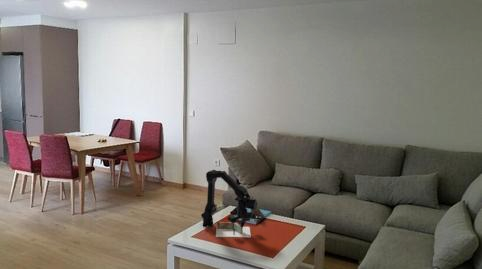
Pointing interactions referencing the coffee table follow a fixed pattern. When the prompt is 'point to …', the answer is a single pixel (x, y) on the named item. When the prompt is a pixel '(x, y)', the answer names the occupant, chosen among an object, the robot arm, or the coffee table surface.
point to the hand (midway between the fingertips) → (241, 229)
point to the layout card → (232, 232)
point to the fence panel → (238, 228)
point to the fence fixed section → (225, 225)
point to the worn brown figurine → (257, 211)
